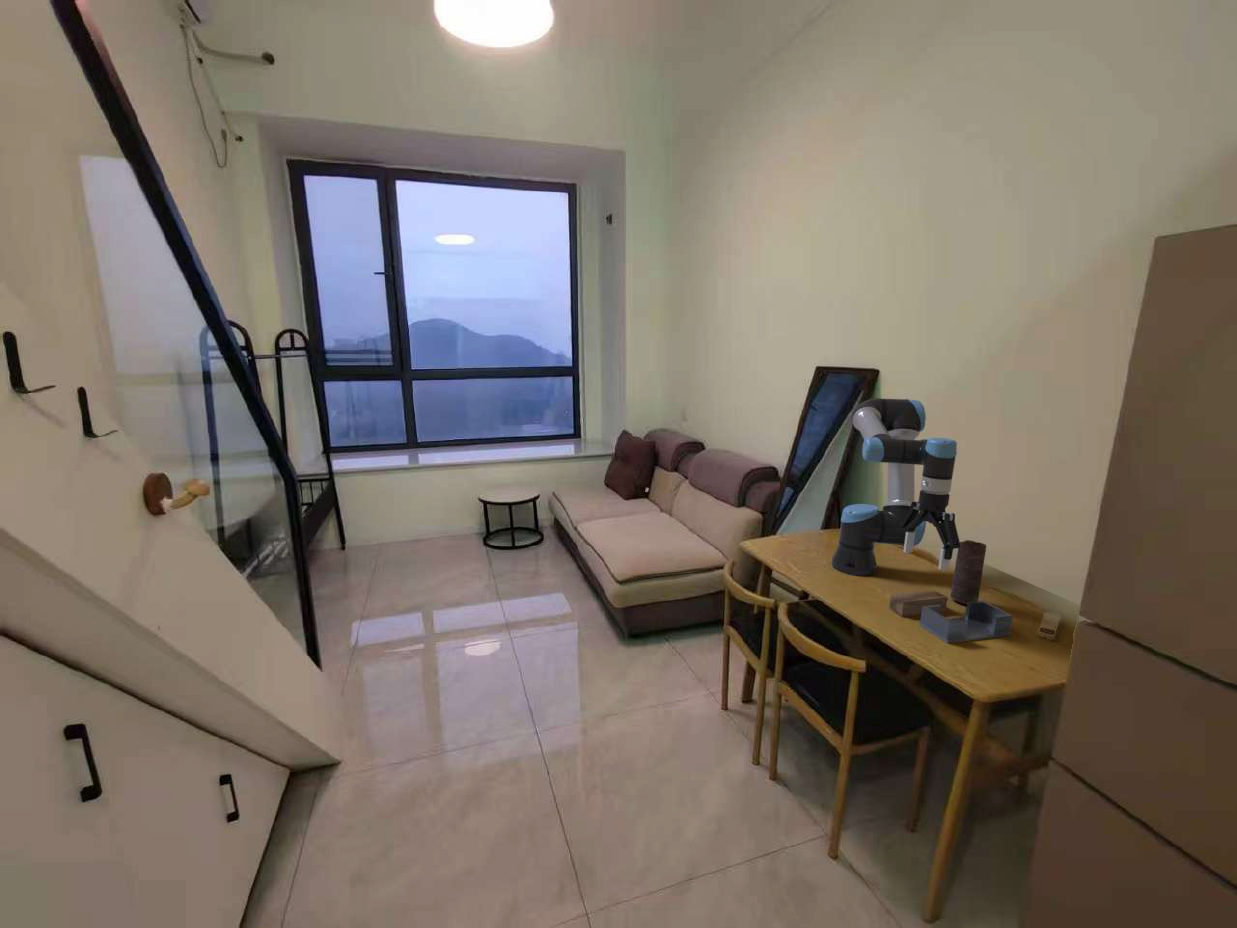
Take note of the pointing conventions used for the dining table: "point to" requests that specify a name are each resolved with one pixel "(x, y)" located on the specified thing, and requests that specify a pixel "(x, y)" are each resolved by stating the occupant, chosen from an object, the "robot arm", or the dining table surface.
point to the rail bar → (916, 602)
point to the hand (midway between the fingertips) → (924, 560)
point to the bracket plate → (967, 622)
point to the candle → (968, 571)
